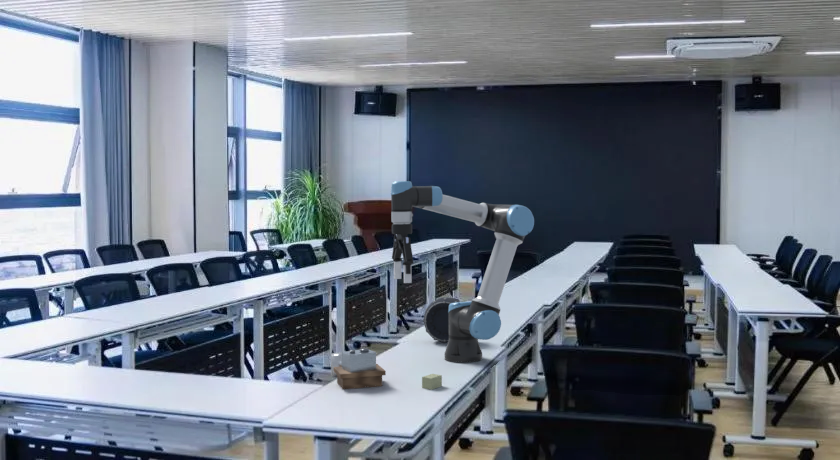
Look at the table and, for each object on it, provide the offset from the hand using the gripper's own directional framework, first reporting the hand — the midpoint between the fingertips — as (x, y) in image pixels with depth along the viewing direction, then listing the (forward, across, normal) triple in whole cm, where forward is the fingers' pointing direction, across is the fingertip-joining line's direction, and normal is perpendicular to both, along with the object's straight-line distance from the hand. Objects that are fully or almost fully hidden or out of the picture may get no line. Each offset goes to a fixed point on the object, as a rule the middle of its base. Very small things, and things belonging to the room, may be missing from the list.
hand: (402, 281), depth 309 cm
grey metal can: (+35, +6, +23) cm, 42 cm away
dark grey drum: (+35, +54, -35) cm, 73 cm away
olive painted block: (+35, -22, -4) cm, 41 cm away
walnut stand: (+35, -10, +19) cm, 41 cm away
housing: (+29, -10, +19) cm, 36 cm away
